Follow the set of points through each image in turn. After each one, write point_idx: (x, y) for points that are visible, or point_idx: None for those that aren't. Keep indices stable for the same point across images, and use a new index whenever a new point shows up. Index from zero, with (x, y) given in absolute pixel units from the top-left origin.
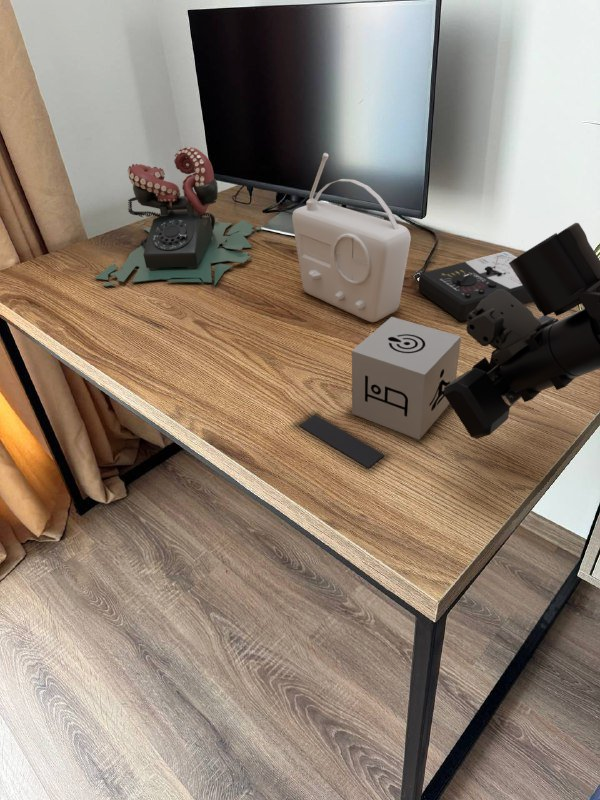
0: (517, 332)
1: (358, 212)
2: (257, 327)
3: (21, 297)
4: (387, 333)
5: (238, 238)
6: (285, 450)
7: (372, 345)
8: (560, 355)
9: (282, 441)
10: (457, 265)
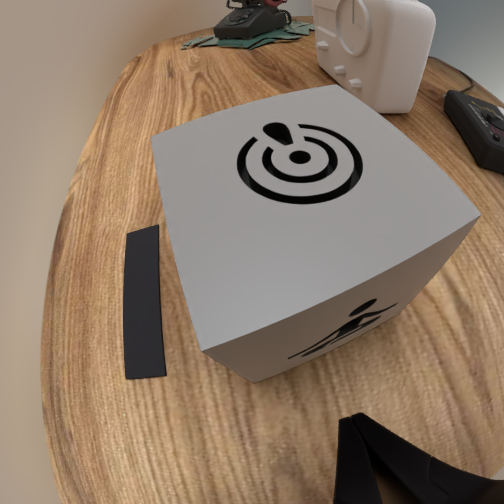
0: None
1: None
2: (237, 84)
3: (139, 57)
4: (282, 111)
5: (303, 28)
6: (85, 267)
7: (206, 132)
8: None
9: (95, 250)
10: (489, 104)
